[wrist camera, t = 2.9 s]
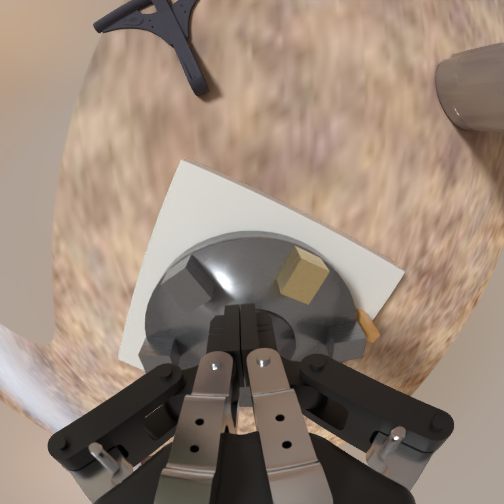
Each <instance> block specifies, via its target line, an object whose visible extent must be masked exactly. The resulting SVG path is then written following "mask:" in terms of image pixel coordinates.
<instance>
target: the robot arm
mask: <svg viewBox="0 0 504 504" xmlns="http://www.w3.org/2000/svg"><path fill="white" fill-rule="evenodd" d="M435 79H436V89H437V94H438V97H439V100H440V102H441V104H442V107H443V109H444V111H445V112H446V114H447V115H448V117H449V118H450V119H451V120H452V122H453V123H454V124H456V125H457V126H458V127H460V128H461V129H464V130H469V131H485V132H495V133H504V43H498V44H493V45H488V46H484V47H480V48H475V49H471V50H468V51H464V52H460V53H457V54H453V55H452V58H450V59H447V60H444V61H443V62H441V63H440V65H439V66H438V68H437V71H436V78H435ZM240 311H241V314H240ZM244 374H245V382H246V387H250V393H251V401H252V407H253V413H254V419H255V425H256V431H255V432H252V433H248V434H244V435H238V434H237V427H238V414H239V402H240V401H239V396H240V387H245V382H244ZM159 406H160V407H159ZM158 407H159V408H158ZM157 408H158V409H157ZM155 409H156V410H155ZM154 410H155V411H154ZM153 411H154V412H153ZM150 413H151V414H150ZM149 414H150V415H149ZM302 414H303V415H304V416H306V417H307V418H309V419H311V420H312V421H314V422H315V423H317V424H318V425H320V426H321V427H323V428H324V429H326V430H328V431H329V432H331V433H333V434H334V435H336V436H337V437H339V438H341V439H342V440H344V441H346V442H348V443H349V444H351V445H353V446H354V447H356V448H358V449H360V450H362V451H363V452H365V453H367V454H366V461H367V463H368V465H369V466H370V467H369V466H367V465H365V464H364V463H362V462H360V461H359V460H357V459H356V458H354V457H352V456H351V455H349V454H348V453H346V452H345V451H343V450H341V449H340V448H339V447H337V446H335V445H334V444H333V443H331V442H330V441H328V440H326V439H325V438H323V437H321V436H318V435H316V434H312V433H309V432H308V430H307V427H306V424H305V421H304V418H303V415H302ZM146 416H147V417H146ZM145 417H146V418H145ZM453 429H454V421H453V419H452V417H451V416H450V415H449V414H448V413H447V412H445V411H443V410H440V409H438V408H435V407H433V406H431V405H428V404H426V403H424V402H421V401H419V400H417V399H415V398H412V397H410V396H408V395H406V394H404V393H402V392H399V391H397V390H395V389H393V388H391V387H389V386H386V385H384V384H382V383H380V382H378V381H376V380H374V379H372V378H370V377H368V376H366V375H364V374H362V373H360V372H358V371H356V370H354V369H352V368H350V367H348V366H346V365H344V364H342V363H340V362H338V361H336V360H334V359H332V358H330V357H328V356H326V355H323V354H311V355H308V356H306V357H304V358H303V359H302V361H301V362H299V361H291V360H288V359H285V358H283V357H282V356H281V355H280V354H279V353H278V350H277V345H276V340H275V335H274V330H273V325H272V319H271V316H270V315H269V314H268V313H267V312H256V311H255V303H246V304H240V305H239V304H234V305H225V310H224V315H215V316H214V318H213V319H212V320H211V321H210V328H209V335H208V342H207V350H206V355H204V356H203V357H202V358H201V360H200V363H199V365H197V366H195V367H192V368H189V369H185V370H181V368H180V367H179V366H177V365H175V364H172V363H165V364H161V365H158V366H157V367H155V368H154V369H152V370H151V371H149V372H148V373H146V374H145V375H144V376H142V377H141V378H139V379H138V380H136V381H135V382H133V383H132V384H130V385H129V386H127V387H126V388H124V389H123V390H122V391H120V392H119V393H117V394H116V395H114V396H113V397H111V398H110V399H108V400H107V401H105V402H104V403H102V404H100V405H99V406H97V407H96V408H94V409H93V410H91V411H90V412H88V413H87V414H85V415H83V416H82V417H80V418H79V419H77V420H76V421H74V422H72V423H71V424H69V425H68V426H66V427H64V428H63V429H61V430H60V431H58V432H56V433H55V434H53V435H52V436H51V438H50V439H49V442H48V451H49V453H50V454H51V456H53V458H54V459H56V460H57V461H58V462H59V463H60V464H61V465H62V466H63V467H64V468H65V469H66V470H67V471H69V472H70V473H71V474H72V476H73V477H74V479H75V480H76V482H77V483H78V485H79V486H80V487H81V489H82V490H83V492H84V493H85V494H86V496H87V497H88V498H89V500H90V501H91V502H92V503H93V504H416V503H415V500H414V497H413V495H412V494H411V492H410V490H411V489H412V487H413V486H414V484H415V483H416V481H417V480H418V478H419V477H420V475H421V473H422V472H423V470H424V468H425V466H426V465H427V463H428V461H429V460H430V458H431V456H432V455H433V454H434V453H435V452H436V451H437V450H438V449H439V448H440V446H441V445H442V444H443V443H444V442H445V441H446V440H447V438H448V437H449V436H450V435H451V433H452V431H453ZM174 435H175V436H174ZM173 436H174V440H173V442H171V443H169V444H167V445H166V446H164V447H163V448H162V449H161V450H159V451H158V452H157V453H156V454H155V455H154V456H152V457H151V458H150V459H149V460H148V461H146V462H145V463H144V464H143V465H141V466H140V467H139V468H138V469H137V470H135V471H134V472H133V467H134V466H136V465H137V464H138V463H140V462H141V461H142V460H144V459H145V458H146V457H148V456H149V455H150V454H152V453H153V452H154V451H155V450H157V449H158V448H159V447H160V446H162V445H163V444H164V443H165V442H167V441H168V440H169V439H170V438H171V437H173ZM372 468H373V469H372Z"/></svg>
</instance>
